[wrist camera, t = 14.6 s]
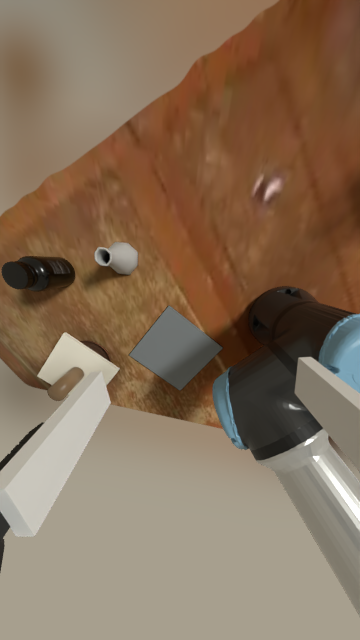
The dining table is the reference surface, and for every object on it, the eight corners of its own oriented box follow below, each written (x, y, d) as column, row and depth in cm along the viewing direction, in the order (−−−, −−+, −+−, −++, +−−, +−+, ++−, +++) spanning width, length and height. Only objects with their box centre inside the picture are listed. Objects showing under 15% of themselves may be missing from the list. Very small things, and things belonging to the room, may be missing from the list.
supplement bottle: (47, 255, 40) (-9, 251, 29) (75, 259, 40) (31, 257, 29) (50, 284, 43) (-1, 291, 31) (77, 288, 43) (36, 297, 31)
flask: (132, 279, 41) (116, 284, 32) (104, 266, 41) (78, 267, 31) (143, 250, 39) (128, 245, 30) (113, 236, 39) (88, 226, 29)
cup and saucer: (97, 382, 51) (85, 397, 45) (63, 356, 49) (46, 369, 43) (121, 358, 48) (112, 370, 42) (87, 329, 46) (72, 338, 40)
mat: (222, 347, 45) (222, 348, 45) (180, 389, 50) (180, 390, 50) (169, 305, 43) (168, 305, 42) (129, 354, 48) (129, 355, 47)
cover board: (119, 368, 42) (105, 390, 35) (90, 405, 46) (71, 432, 39) (65, 332, 40) (37, 347, 32) (39, 374, 44) (9, 396, 36)
